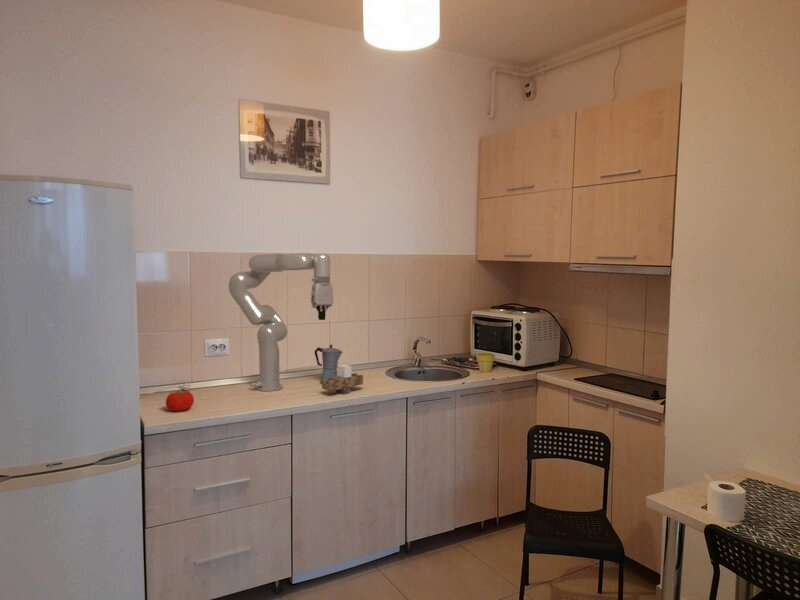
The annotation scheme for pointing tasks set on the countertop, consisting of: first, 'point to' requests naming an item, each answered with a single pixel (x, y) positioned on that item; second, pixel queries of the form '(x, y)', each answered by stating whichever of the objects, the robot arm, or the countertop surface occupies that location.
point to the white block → (344, 371)
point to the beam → (342, 383)
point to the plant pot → (485, 361)
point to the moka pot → (329, 361)
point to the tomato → (179, 401)
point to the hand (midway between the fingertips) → (321, 319)
